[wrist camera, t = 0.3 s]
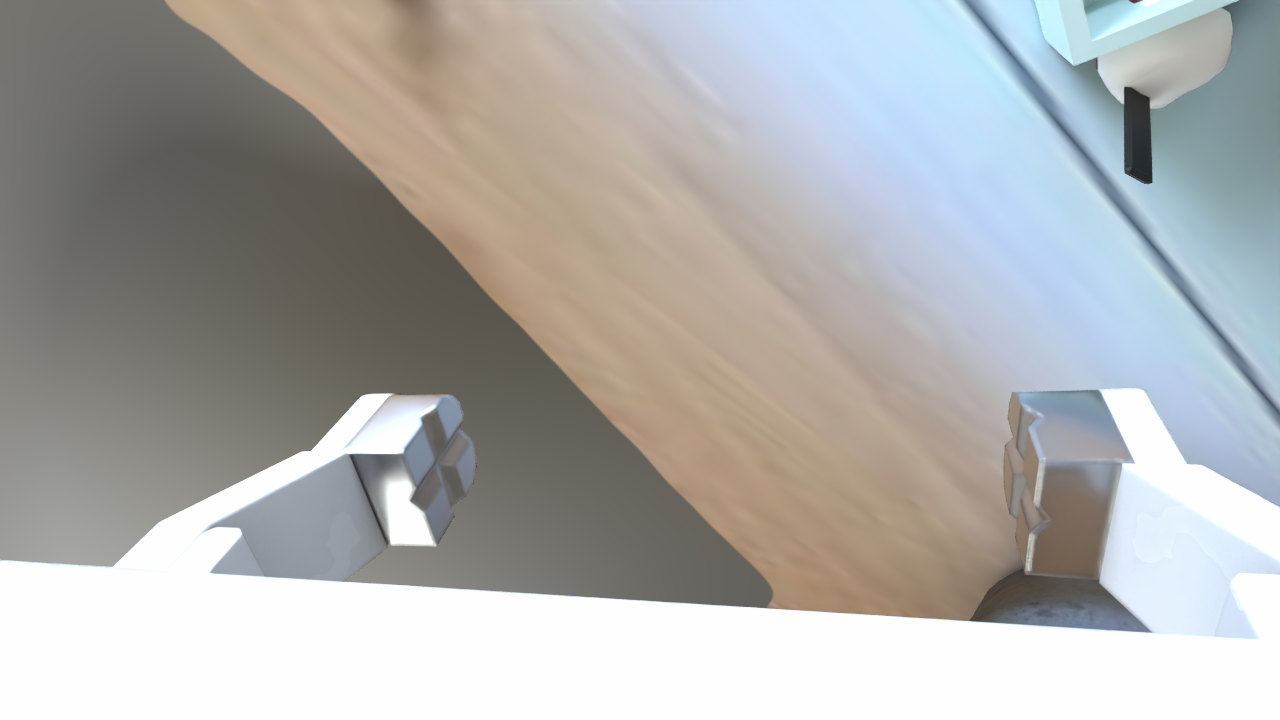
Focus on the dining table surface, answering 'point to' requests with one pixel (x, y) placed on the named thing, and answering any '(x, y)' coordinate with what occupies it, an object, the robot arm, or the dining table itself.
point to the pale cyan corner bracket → (1111, 23)
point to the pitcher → (1055, 604)
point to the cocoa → (1162, 76)
